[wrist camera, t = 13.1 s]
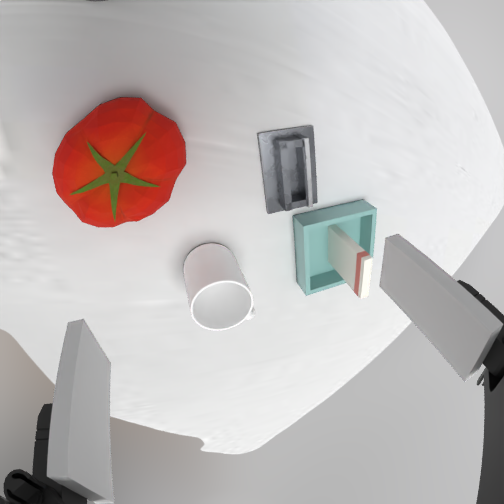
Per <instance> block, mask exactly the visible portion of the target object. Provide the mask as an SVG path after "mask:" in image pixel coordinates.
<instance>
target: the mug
mask: <svg viewBox="0 0 504 504" xmlns="http://www.w3.org/2000/svg"><path fill="white" fill-rule="evenodd" d="M183 272H184V279H185V285H186V290H187V296H188V301H189V306H190V312H191V315H192V318H193V319H194V321H195V322H196V323H197V324H198V325H200V326H201V327H203V328H206V329H209V330H226V329H230V328H232V327H235V326H237V325H238V324H240V323H241V322H243V321H244V320H250V319H252V318H253V317H254V314H255V310H254V307H253V296H252V293H251V291H250V289H249V287H248V284H247V282H246V280H245V278H244V276H243V273H242V271H241V269H240V267H239V265H238V262H237V260H236V258H235V256H234V255H233V253H232V252H231V251H230V250H229V249H228V248H226V247H225V246H223V245H220V244H214V243H209V244H204V245H201V246H199V247H197V248H195V249H194V250H192V251H191V252H190V253H189V255H188V256H187V258H186V260H185V262H184V267H183Z"/></svg>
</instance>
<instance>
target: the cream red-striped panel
mask: <svg viewBox="0 0 504 504" xmlns="http://www.w3.org/2000/svg"><path fill="white" fill-rule="evenodd" d="M372 261H373V258H372V257H371V256H370V255H369V254H368V253H367V252H366V251H365V250H364V249H363V248H362V247H360V246H359V245H358V244H357V243H356V242H355V241H354V240H353V239H352V238H351V237H349V236H348V235H347V234H346V233H345V232H344V231H343V230H342V229H340V228H339V227H338V226H337V225H336V224H334V225H330V226H328V262H329V263H330V264H331V265H332V267H333V268H334V269H335V270H336V271H337V272H338V273H339V275H340V276H341V277H342V278H343V279H344V280H345V282H346V283H347V284H348V285H349V286H350V287H351V288H352V290H353V291H354V292H355V293H356V295H357V296H358V297H359V298H360V299H362V298H365V297H368V295H369V287H370V279H371V270H372Z"/></svg>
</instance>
